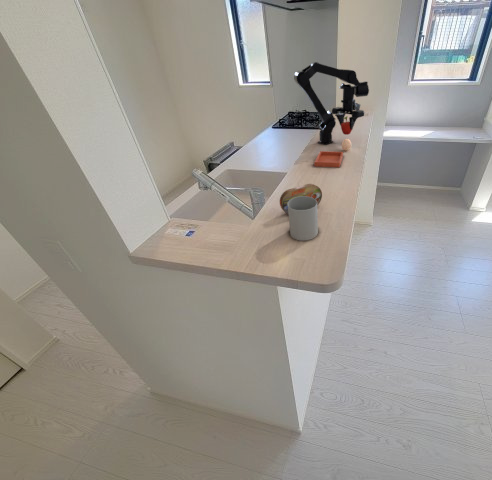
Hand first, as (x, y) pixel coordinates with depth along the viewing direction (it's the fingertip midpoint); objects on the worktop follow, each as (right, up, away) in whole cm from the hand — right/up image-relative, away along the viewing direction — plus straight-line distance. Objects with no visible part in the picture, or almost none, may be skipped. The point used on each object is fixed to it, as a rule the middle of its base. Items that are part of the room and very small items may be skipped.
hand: (346, 128), depth 151 cm
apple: (0, -3, +2) cm, 3 cm away
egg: (-2, -16, -11) cm, 20 cm away
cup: (-24, -61, -70) cm, 96 cm away
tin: (-25, -53, -59) cm, 83 cm away
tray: (-12, -25, -22) cm, 35 cm away
